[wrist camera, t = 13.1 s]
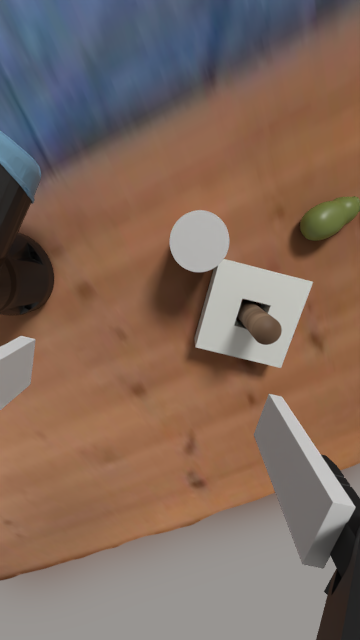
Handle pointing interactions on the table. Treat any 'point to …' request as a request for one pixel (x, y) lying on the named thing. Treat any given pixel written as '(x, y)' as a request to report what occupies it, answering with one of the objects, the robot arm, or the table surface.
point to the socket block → (256, 285)
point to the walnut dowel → (259, 323)
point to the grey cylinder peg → (199, 241)
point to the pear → (329, 217)
